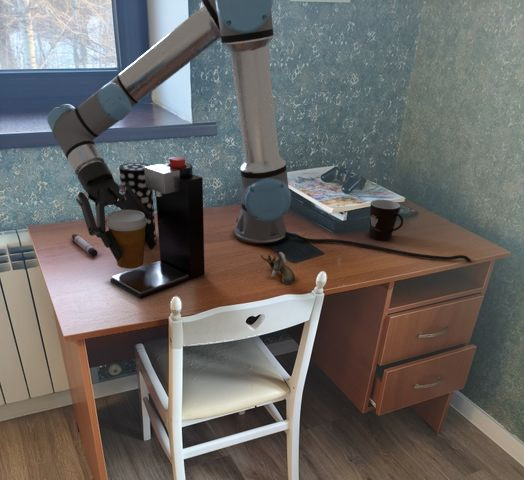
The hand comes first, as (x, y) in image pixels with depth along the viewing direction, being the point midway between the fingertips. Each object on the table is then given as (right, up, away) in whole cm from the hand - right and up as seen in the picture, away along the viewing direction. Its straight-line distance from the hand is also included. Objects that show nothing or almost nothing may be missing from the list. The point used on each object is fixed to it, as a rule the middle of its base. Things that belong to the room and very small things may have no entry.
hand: (137, 252), depth 126 cm
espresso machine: (+3, -6, +3) cm, 8 cm away
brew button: (+10, +19, -4) cm, 22 cm away
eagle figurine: (+34, -5, +9) cm, 35 cm away
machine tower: (+9, -3, +10) cm, 14 cm away
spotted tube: (-5, +9, +27) cm, 28 cm away
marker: (-19, +5, +20) cm, 28 cm away
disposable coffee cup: (-3, -2, +4) cm, 5 cm away
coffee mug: (+65, +10, +34) cm, 74 cm away
